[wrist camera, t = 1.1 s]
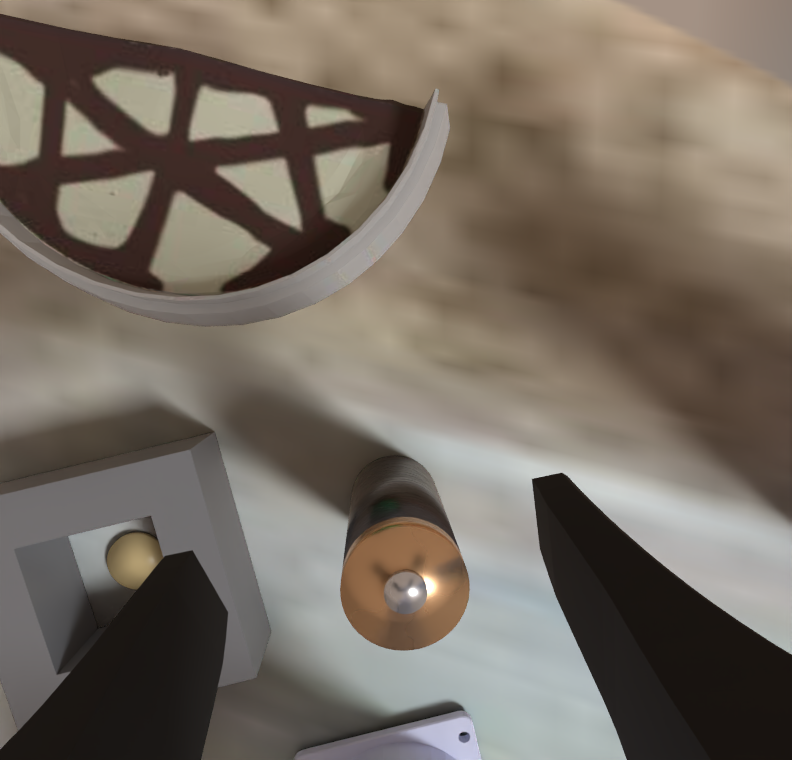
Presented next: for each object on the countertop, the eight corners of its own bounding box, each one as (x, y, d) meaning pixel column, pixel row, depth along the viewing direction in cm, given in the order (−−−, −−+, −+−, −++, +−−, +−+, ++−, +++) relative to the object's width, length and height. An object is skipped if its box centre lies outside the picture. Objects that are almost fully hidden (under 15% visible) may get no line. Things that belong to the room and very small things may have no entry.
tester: (271, 631, 23) (255, 681, 20) (65, 682, 23) (16, 740, 20) (214, 431, 22) (188, 451, 19) (-2, 483, 22) (-65, 511, 19)
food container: (85, 289, 21) (-167, 265, 11) (107, 130, 21) (-140, -44, 11) (391, 350, 22) (406, 376, 12) (421, 198, 21) (464, 94, 12)
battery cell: (445, 527, 23) (483, 637, 15) (362, 547, 23) (357, 668, 15) (426, 446, 23) (455, 516, 15) (342, 467, 23) (325, 548, 15)
